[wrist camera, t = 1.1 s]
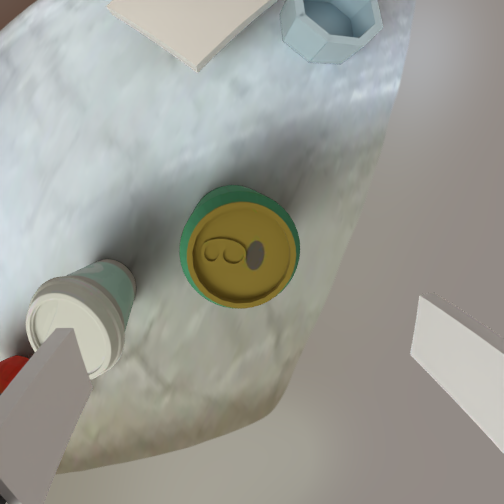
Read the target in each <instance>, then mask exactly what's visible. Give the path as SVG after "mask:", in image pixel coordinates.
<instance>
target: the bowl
mask: <svg viewBox="0 0 504 504" xmlns="http://www.w3.org/2000/svg"><path fill="white" fill-rule="evenodd" d="M280 20H281V28H282V37H283V41H284V42H285V43H286V44H287V45H289V46H290V47H291V48H292V49H293V50H295V51H296V52H297V53H298V54H299V55H301V56H302V57H303V58H304V59H305V60H307V61H308V62H310V63H328V64H342V63H343V62H344V61H346V60H347V59H348V58H349V57H351V56H352V55H353V54H355V53H356V52H357V51H359V50H360V49H361V48H363V47H364V46H365V45H366V44H367V43H368V42H369V41H370V40H371V39H372V38H373V37H374V36H375V35H376V34H377V33H378V32H379V31H380V30H382V29H383V23H382V18H381V13H380V9H379V5H378V1H377V0H286V2H285V4H284V6H283V8H282V10H281V13H280Z"/></svg>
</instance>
